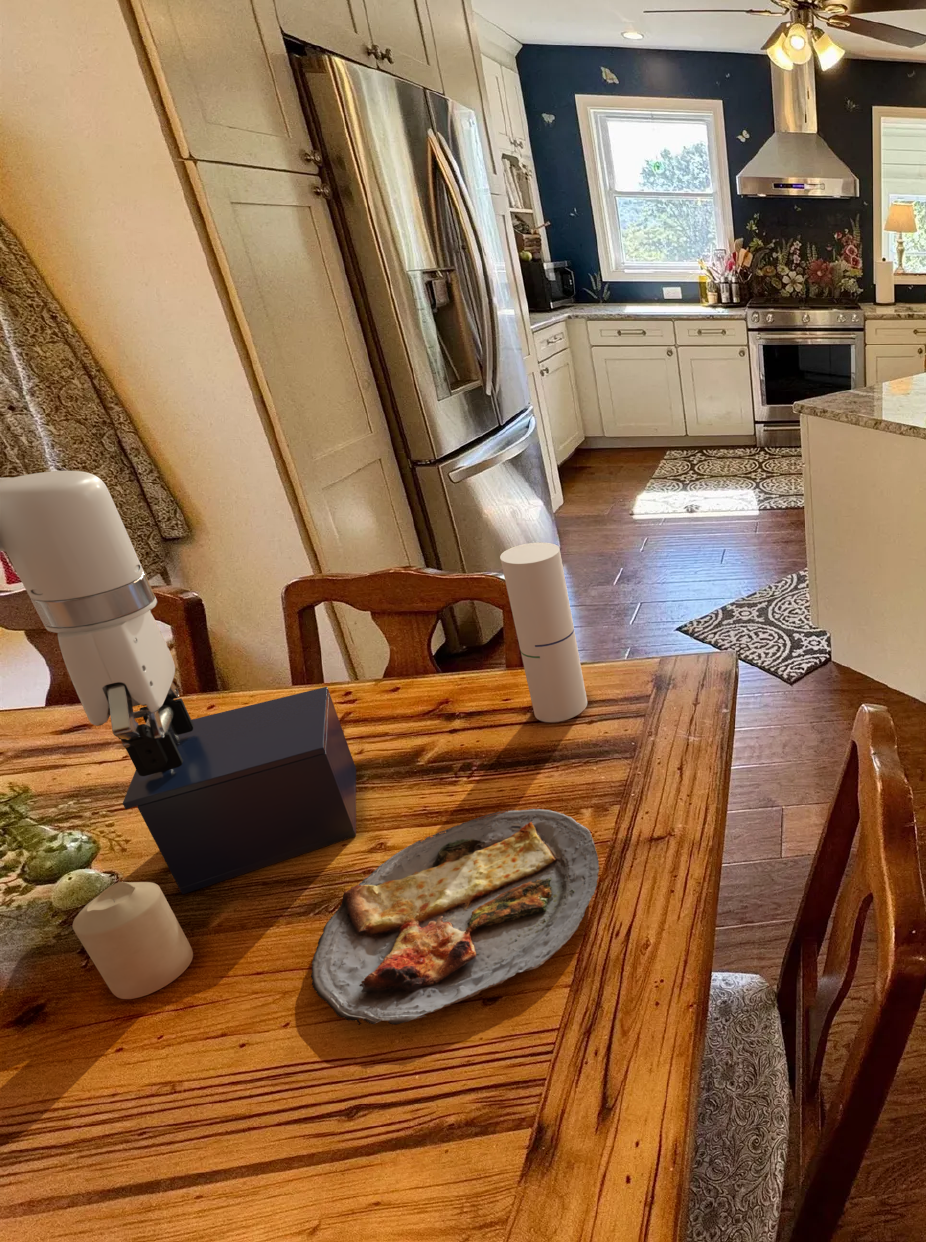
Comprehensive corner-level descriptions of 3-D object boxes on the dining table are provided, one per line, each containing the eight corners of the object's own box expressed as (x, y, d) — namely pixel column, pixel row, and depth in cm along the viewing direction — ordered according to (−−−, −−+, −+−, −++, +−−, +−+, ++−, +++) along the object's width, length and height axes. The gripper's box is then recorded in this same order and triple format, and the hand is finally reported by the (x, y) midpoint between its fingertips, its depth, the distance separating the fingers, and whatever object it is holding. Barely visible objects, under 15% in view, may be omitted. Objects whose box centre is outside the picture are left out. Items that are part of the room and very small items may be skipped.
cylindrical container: (584, 718, 106) (555, 561, 96) (530, 725, 104) (494, 566, 94) (589, 690, 112) (563, 540, 102) (538, 697, 110) (506, 544, 100)
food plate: (303, 1084, 60) (290, 1057, 59) (330, 885, 78) (320, 860, 77) (621, 946, 73) (616, 920, 71) (581, 801, 91) (576, 779, 89)
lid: (125, 809, 71) (102, 765, 69) (154, 734, 82) (135, 694, 79) (325, 753, 80) (310, 712, 77) (329, 691, 90) (315, 653, 88)
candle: (130, 957, 70) (86, 880, 66) (204, 938, 72) (165, 863, 68) (99, 1009, 65) (49, 930, 61) (179, 987, 67) (135, 909, 63)
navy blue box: (182, 895, 77) (136, 807, 72) (202, 814, 87) (164, 732, 82) (356, 836, 84) (325, 753, 80) (356, 768, 95) (329, 691, 90)
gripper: (67, 576, 74) (137, 721, 82) (6, 651, 62) (96, 816, 69) (168, 560, 78) (226, 700, 86) (131, 628, 66) (203, 785, 73)
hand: (168, 750), depth 77 cm, fingers closed on lid, 6 cm apart
